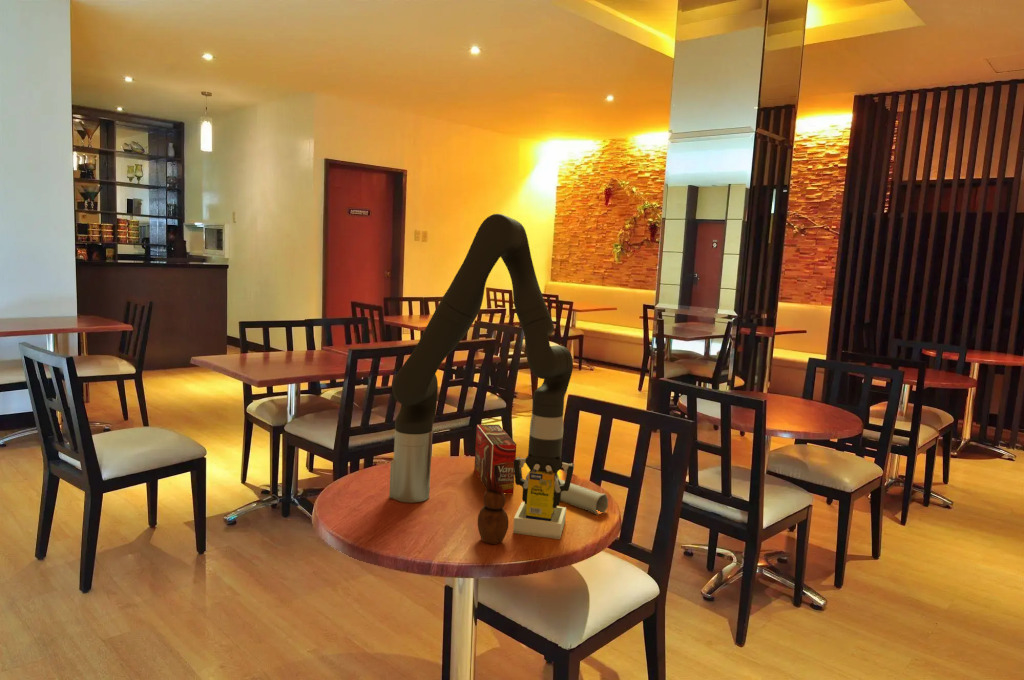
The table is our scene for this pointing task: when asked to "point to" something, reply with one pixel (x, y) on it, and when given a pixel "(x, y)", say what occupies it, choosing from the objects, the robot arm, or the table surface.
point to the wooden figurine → (493, 514)
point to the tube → (584, 498)
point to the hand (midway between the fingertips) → (541, 504)
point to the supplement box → (540, 495)
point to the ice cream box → (495, 456)
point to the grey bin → (540, 523)
